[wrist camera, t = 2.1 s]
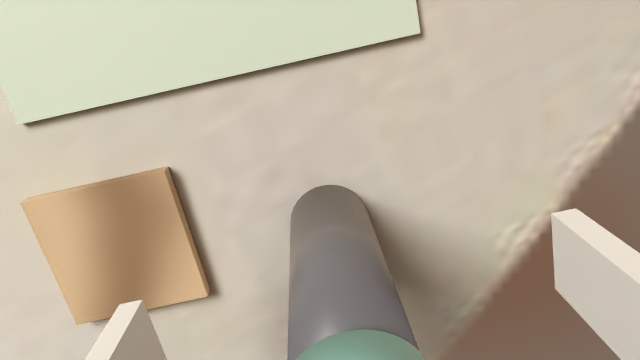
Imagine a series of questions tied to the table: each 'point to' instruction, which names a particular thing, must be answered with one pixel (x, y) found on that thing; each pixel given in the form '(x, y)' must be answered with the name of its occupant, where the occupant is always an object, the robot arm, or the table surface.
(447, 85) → the table surface
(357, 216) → the marker
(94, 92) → the sheet
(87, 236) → the coaster
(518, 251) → the table surface
